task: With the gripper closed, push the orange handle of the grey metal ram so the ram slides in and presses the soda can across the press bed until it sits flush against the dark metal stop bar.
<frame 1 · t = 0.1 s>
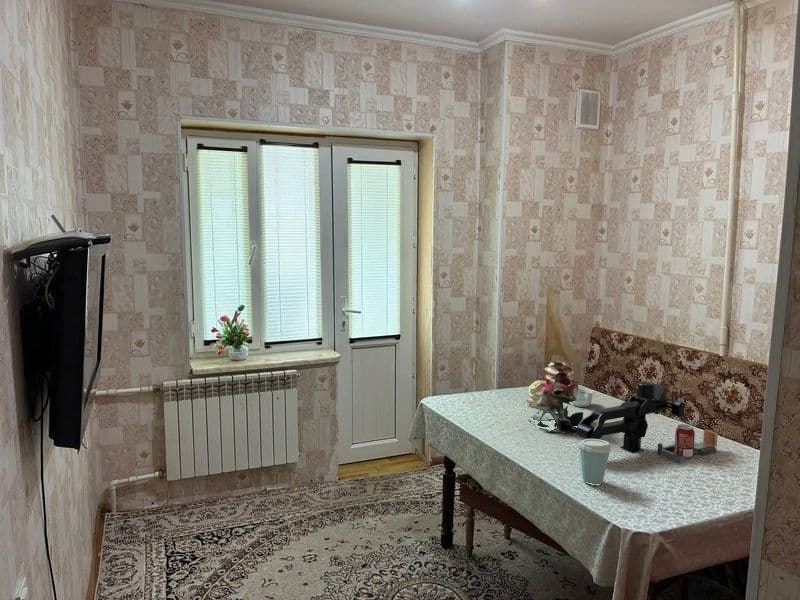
hand: (677, 401, 244), 17 cm above the table, tool horizontal, fingers open, 9 cm apart
rose bouquet: (554, 425, 265), on the table
teacup: (581, 406, 294), on the table
press fence: (680, 456, 227), on the table
ram: (703, 441, 233), point 4 cm above the table, slide at 0.0 cm
soda can: (683, 456, 228), on the table
disposable coffee cup: (593, 482, 204), on the table
ram guide: (702, 451, 233), on the table
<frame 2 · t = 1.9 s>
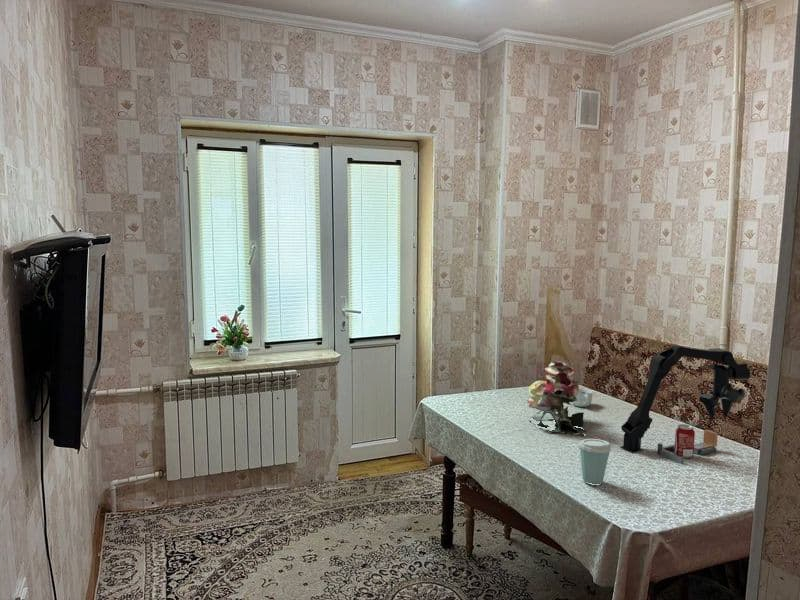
hand: (719, 417, 235), 13 cm above the table, tool pointing down, fingers open, 8 cm apart
nothing on the table moved.
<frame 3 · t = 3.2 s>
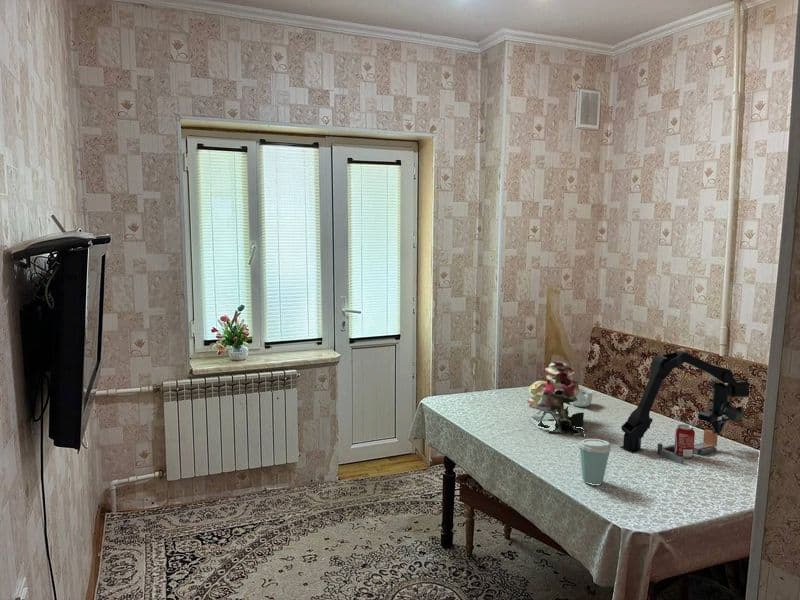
hand: (717, 434, 236), 6 cm above the table, tool pointing down, fingers closed
nothing on the table moved.
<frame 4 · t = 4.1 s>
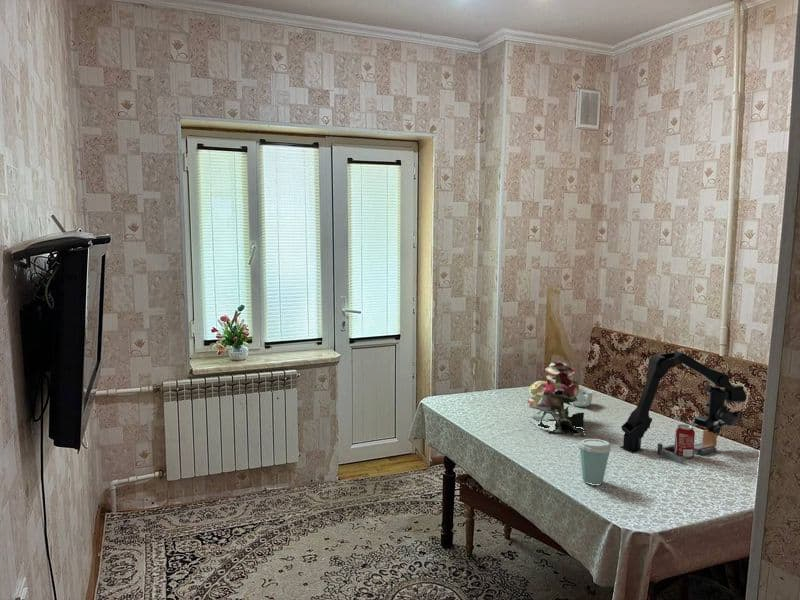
hand: (714, 439, 236), 4 cm above the table, tool pointing down, fingers closed
ram: (702, 442, 232), point 4 cm above the table, slide at 0.3 cm, touching gripper
everything else where it was.
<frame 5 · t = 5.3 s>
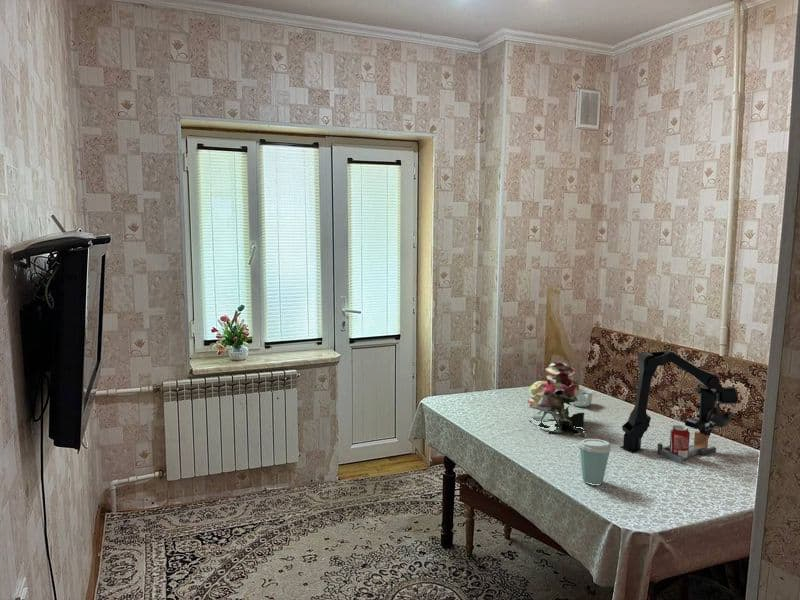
hand: (705, 441, 233), 4 cm above the table, tool pointing down, fingers closed
ram: (693, 444, 230), point 4 cm above the table, slide at 5.6 cm, touching gripper
soda can: (678, 457, 227), on the table
everything else where it was.
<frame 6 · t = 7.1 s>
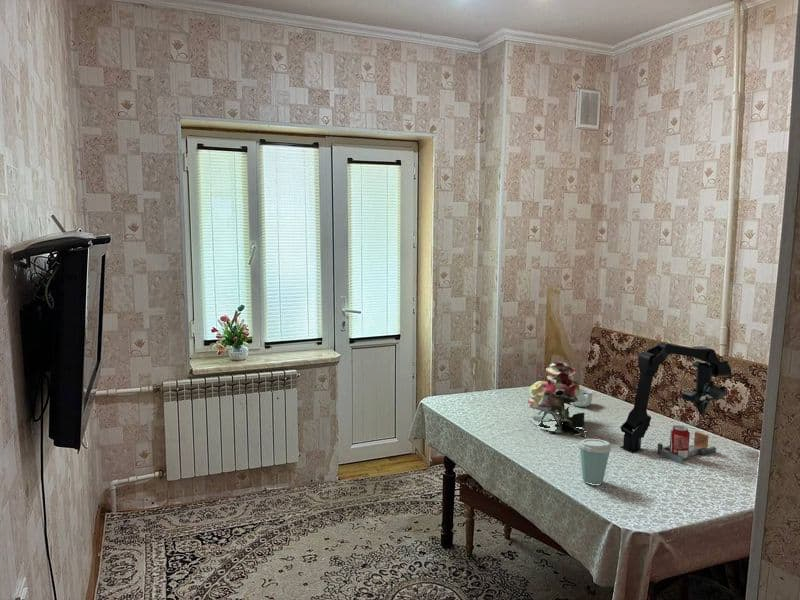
hand: (701, 414, 239), 13 cm above the table, tool pointing down, fingers closed
ram: (693, 444, 230), point 4 cm above the table, slide at 5.5 cm
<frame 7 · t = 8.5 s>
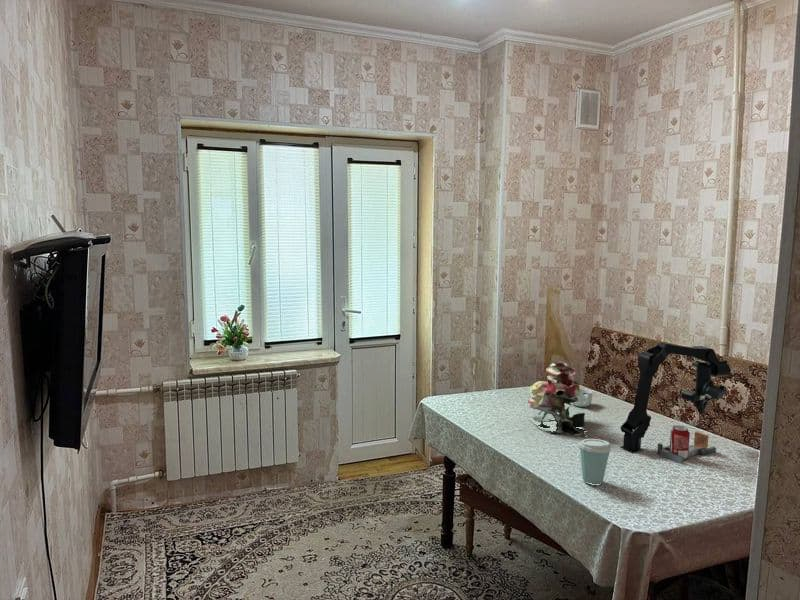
hand: (701, 414, 239), 13 cm above the table, tool pointing down, fingers closed
at the end: soda can 0.6 cm from the target spot, on the table; soda can tilted 0°; ram slide at 5.5 cm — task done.
